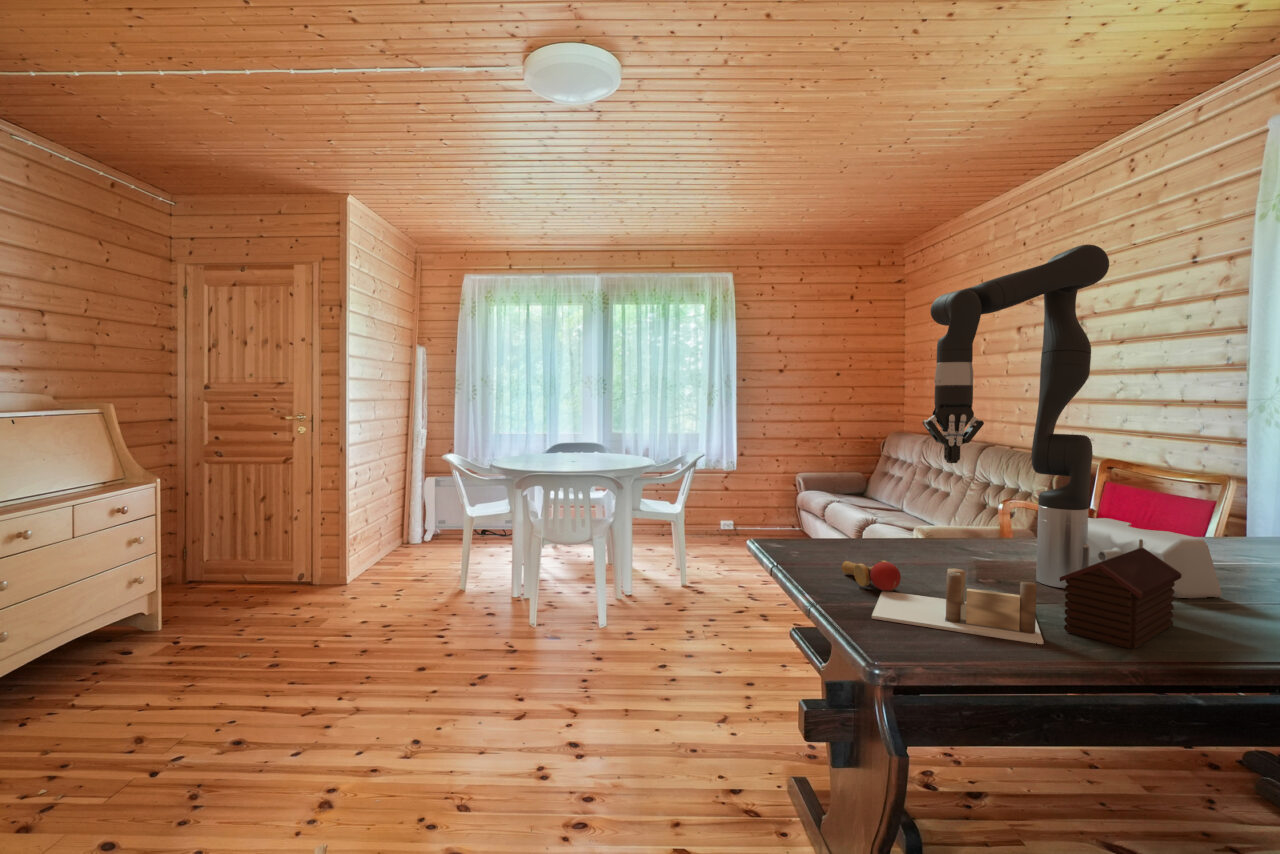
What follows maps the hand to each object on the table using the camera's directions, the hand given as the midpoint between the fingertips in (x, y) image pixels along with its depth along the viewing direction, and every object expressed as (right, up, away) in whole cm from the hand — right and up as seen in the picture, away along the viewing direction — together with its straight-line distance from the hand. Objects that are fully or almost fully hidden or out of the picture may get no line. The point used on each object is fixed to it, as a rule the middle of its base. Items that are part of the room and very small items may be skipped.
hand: (952, 462), depth 137 cm
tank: (+42, -27, +3) cm, 50 cm away
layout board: (-9, -28, -19) cm, 35 cm away
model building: (+17, -29, -26) cm, 42 cm away
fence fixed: (-6, -28, -26) cm, 39 cm away
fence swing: (-8, -27, -17) cm, 33 cm away
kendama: (-18, -27, +1) cm, 32 cm away
